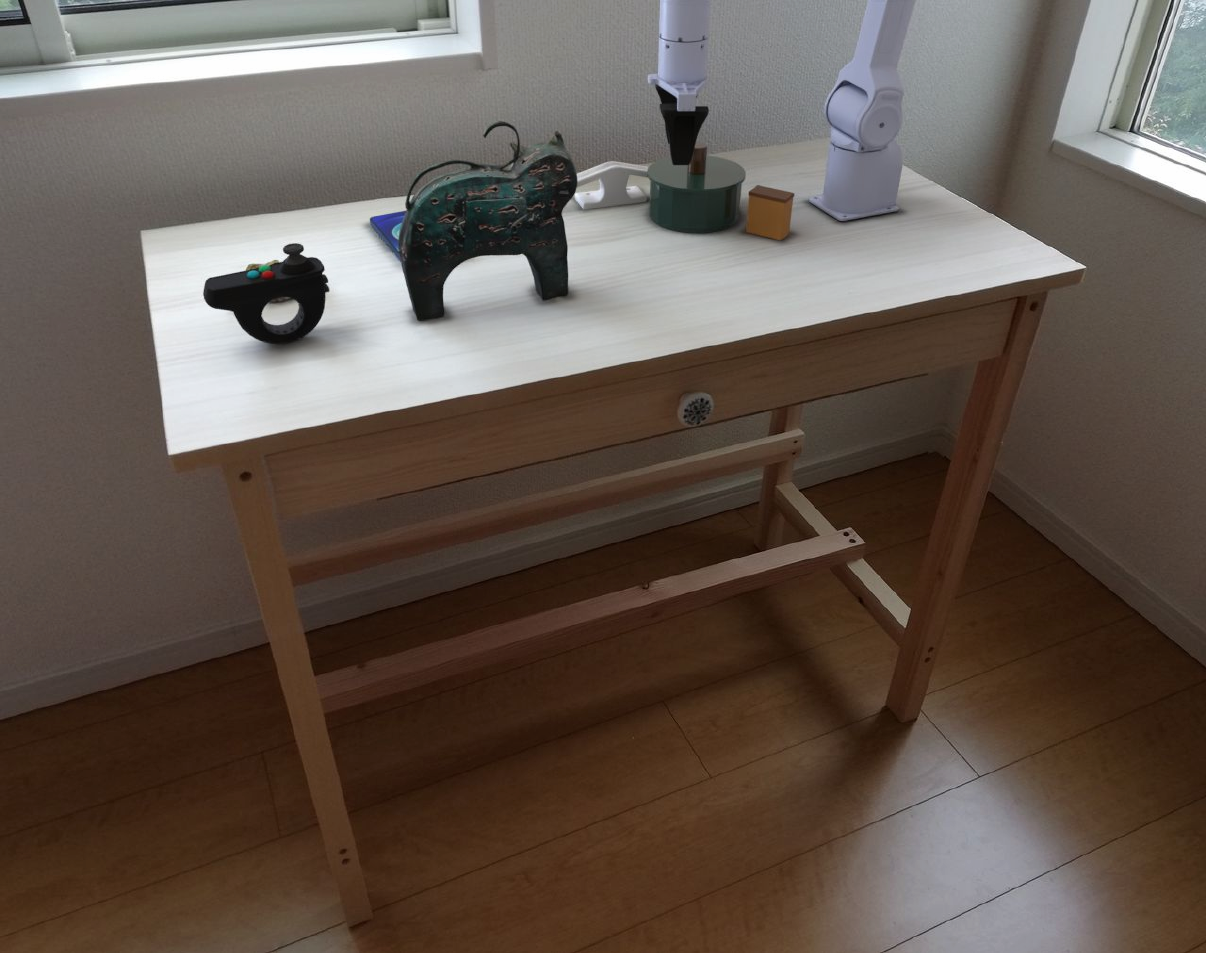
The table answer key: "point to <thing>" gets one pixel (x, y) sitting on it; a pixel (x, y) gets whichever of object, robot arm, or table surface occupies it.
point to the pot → (694, 209)
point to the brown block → (769, 212)
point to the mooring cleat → (611, 185)
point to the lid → (697, 173)
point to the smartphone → (389, 229)
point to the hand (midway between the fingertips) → (678, 153)
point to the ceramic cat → (489, 220)
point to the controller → (273, 295)
